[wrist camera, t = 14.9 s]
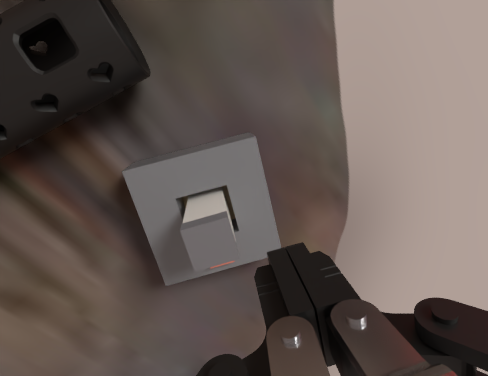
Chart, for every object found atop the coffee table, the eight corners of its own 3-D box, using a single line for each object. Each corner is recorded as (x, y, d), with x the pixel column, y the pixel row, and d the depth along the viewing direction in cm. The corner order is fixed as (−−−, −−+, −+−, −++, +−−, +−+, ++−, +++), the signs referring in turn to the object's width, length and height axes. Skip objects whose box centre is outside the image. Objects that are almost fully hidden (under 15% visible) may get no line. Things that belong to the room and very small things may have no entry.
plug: (188, 192, 34) (180, 230, 24) (221, 183, 35) (227, 217, 24) (198, 222, 36) (194, 271, 25) (230, 213, 36) (239, 258, 25)
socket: (134, 162, 34) (119, 173, 28) (249, 132, 34) (256, 137, 29) (171, 263, 38) (164, 290, 32) (273, 234, 38) (284, 256, 33)
